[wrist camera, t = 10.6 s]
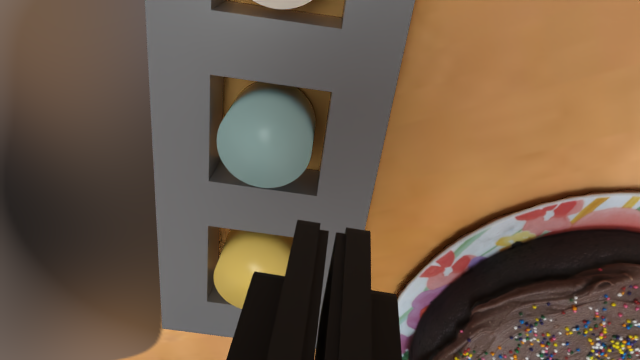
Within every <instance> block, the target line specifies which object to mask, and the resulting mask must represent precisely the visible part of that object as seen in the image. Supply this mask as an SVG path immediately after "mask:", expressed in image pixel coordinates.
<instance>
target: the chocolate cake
mask: <svg viewBox="0 0 640 360" xmlns="http://www.w3.org/2000/svg"><path fill="white" fill-rule="evenodd" d="M397 301H398V312H399V325H400V338H401V351H402V360H640V191H636V190H620V191H616V192H591V193H589V194H587V195H583V196H567V197H566V198H564V199H560V200H557V201H553V202H548V203H540V204H538V205H536V206H534V207H531V208H528V209H524V210H521V211H518V212H514V213H509V214H505V215H502V216H501V217H497V218H494V219H493V220H491V221H489V222H488V223H485V224H482V225H481V226H480V227H479V228H478V229H476V230H474V231H472V232H470V233H466V234H464V235H462V236H461V237H459V238H458V239H457V240H456V241H454V242H453V243H451V244H449V245H447V246H446V247H445V248H444V249H443V250H442V251H441V252H439V253H438V254H436V255H435V256H434V257H433V258H432V259H431V260H430V261H429V263H428V264H427V265H426V266H425V267H423V268H422V269H421V270H420V271H419V273H418V274H417V275H416V276H415V277H414V278H413V279H412V280H410V281H409V282H408V283H407V284H405V285H404V289H403V290H401V291H400V293H399V296H398V299H397Z"/></svg>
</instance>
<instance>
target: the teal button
mask: <svg viewBox="0 0 640 360" xmlns="http://www.w3.org/2000/svg"><path fill="white" fill-rule="evenodd" d="M315 125H316V119H315V113H314V110H313V107H312V105H311V103H310V101H309V100H308V98H307V97H306V96H305V95H304V94H303V93H302V92H301V91H300V90H299V89H297V88H296V87H293V86H286V85H279V84H272V83H265V82H256V83H253V84H251V85H249V86H248V87H246V88H245V89H244V90H243V91H242V92H241V93H240V94H239V95H238V97H237V98H236V100H235V101H234V103H233V105H232V106H231V108H230V109H229V111H228V112H227V114H226V116H225V117H224V119H223V120H222V122H221V124H220V126H219V129H218V133H217V149H218V153H219V156H220V158H221V160H222V162H223V164H224V165H225V167H226V168H227V169H228V170H229V172H230V173H232V174H233V175H234V176H235V177H236V178H238V179H239V180H241V181H243V182H245V183H247V184H249V185H252V186H256V187H261V188H275V187H280V186H284V185H286V184H289V183H291V182H292V181H294V180H295V179H297V178H298V177H299V176H300V175H301V174H302V173H303V172H304V171H305V169H306V168H307V166H308V164H309V161H310V158H311V154H312V147H313V140H314V133H315Z"/></svg>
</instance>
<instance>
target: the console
mask: <svg viewBox="0 0 640 360" xmlns="http://www.w3.org/2000/svg"><path fill="white" fill-rule="evenodd" d="M414 3H415V0H345V2H344V9H343V15H342V18H340V17H334V16H327V15H320V14H313V13H306V12H300V11H293V10H286V9H273V8H269V7H265V6H259V5H252V4H245V3H238V2H231V1H226V0H145V13H146V32H147V51H148V69H149V88H150V107H151V126H152V144H153V162H154V181H155V201H156V219H157V237H158V257H159V275H160V294H161V313H162V328H163V329H170V330H178V331H186V332H194V333H201V334H209V335H217V336H224V337H232V338H233V337H234V334H235V330H236V327H237V324H238V321H239V317H240V314H241V311H242V309H240V308H238V307H235V306H233V305H232V304H230V303H228V302H227V301H226V300H225V299H224V298H223V297H222V296H221V295H220V294H219V293H218V291H217V289H216V287H215V284H214V271H215V268H216V265H217V263H218V260H219V227H220V228H228V229H235V230H243V231H250V232H257V233H265V234H272V235H280V236H287V237H294V233H295V228H296V224H297V220H304V221H310V222H316V223H321V225H320V230H326V231H329V235H328V244H327V253H326V261H325V270H324V278H323V287H322V295H321V304H320V313H319V320H320V314H321V308H322V303H323V298H324V293H325V288H326V282H327V277H328V272H329V267H330V261H331V256H332V251H333V246H334V241H335V235H336V232H339V233H345V230H346V228H347V227H348V228H354V229H360V230H365V226H366V221H367V217H368V212H369V208H370V203H371V199H372V194H373V190H374V185H375V180H376V176H377V171H378V167H379V162H380V158H381V153H382V149H383V144H384V139H385V135H386V130H387V126H388V121H389V117H390V112H391V108H392V103H393V98H394V94H395V89H396V85H397V80H398V76H399V71H400V67H401V62H402V57H403V53H404V48H405V44H406V39H407V35H408V30H409V26H410V21H411V16H412V12H413V7H414ZM224 77H230V78H237V79H244V80H251V81H258V82H265V83H272V84H279V85H286V86H293V87H300V88H307V89H314V90H321V91H328V92H331V96H330V103H329V110H328V116H327V123H326V130H325V136H324V143H323V150H322V157H321V163H320V170H319V171H317V170H310V169H305V171H304V172H303V173H302V174H301V175H300V176H299V177H298V178H297V179H295V180H294V181H292V182H291V183H289V184H286V185H284V186H280V187H275V188H261V187H256V186H252V185H249V184H247V183H245V182H243V181H241V180H239V179H238V178H236V177H235V176H234V175H233V174H232V173H230V172H229V170H228V169H227V168H226V167H225V165H224V164H223V162H222V160H221V158H220V156H219V153H218V149H217V133H218V129H219V126H220V124H221V122H222V120H223V87H224ZM318 327H319V321H318ZM317 336H318V330H317ZM316 344H317V338H316ZM315 348H316V347H315Z"/></svg>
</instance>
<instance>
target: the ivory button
mask: <svg viewBox="0 0 640 360" xmlns="http://www.w3.org/2000/svg"><path fill="white" fill-rule="evenodd" d="M253 1H255V2H256V3H258V4H260V5H263V6H266V7H269V8H273V9H292V8H297V7H299V6H302V5H305V4H306V3H308V2H310V1H312V0H253Z"/></svg>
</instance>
